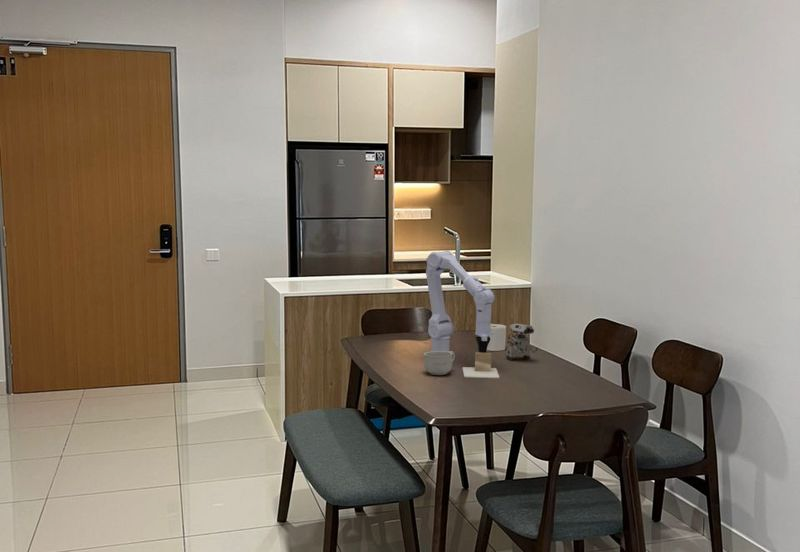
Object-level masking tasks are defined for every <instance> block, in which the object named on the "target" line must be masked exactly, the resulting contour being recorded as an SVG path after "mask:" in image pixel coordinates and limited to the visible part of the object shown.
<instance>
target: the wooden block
mask: <svg viewBox="0 0 800 552" xmlns="http://www.w3.org/2000/svg"><path fill="white" fill-rule="evenodd" d="M474 355H475V356H474V367H475V371H486V372H491V368H492V352H486V353H483V352H479V351H478V352H477V351H476V352H475V353H474Z"/></svg>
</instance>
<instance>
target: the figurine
mask: <svg viewBox="0 0 800 552" xmlns="http://www.w3.org/2000/svg"><path fill="white" fill-rule="evenodd" d="M508 328H509V330H512V332H513V333H512V334H511V333H509V334H508V335H507V341H506V342H507V344H509V346H508V347H507V349H506V355H505V357H506V358H505V359H506V360H509V361H514V356H517V357H523V359H525V360H527V359H529V360H531V356H530V355H531V352H530V351H532V353H533V354H536V353H537V352H538V347H536V348H535V349H534V348H533V347H532V345H531V344H530V342H531V341H530V340H531V339H530V338H528V336H526V335H531V334H535V329H534V327H533V326H532V325H528V324H521V323H517V322H516V323H511V325H509V327H508ZM513 334H515V335H513Z"/></svg>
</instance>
